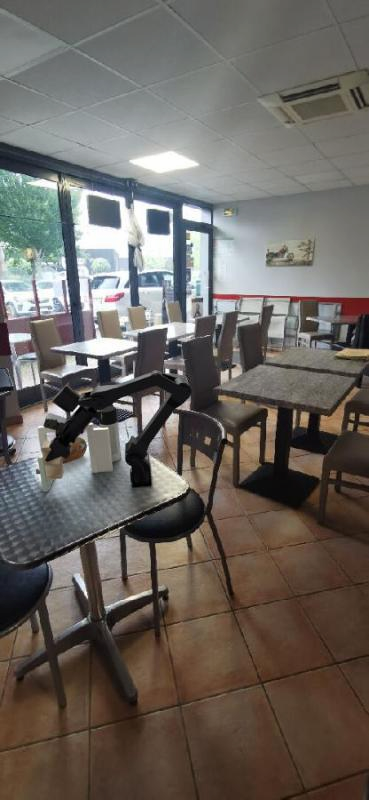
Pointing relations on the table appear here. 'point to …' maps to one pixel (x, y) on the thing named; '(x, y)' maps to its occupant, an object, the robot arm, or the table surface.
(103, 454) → the wall frame
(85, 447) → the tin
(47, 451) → the block
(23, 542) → the table surface
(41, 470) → the door
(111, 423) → the spray can
